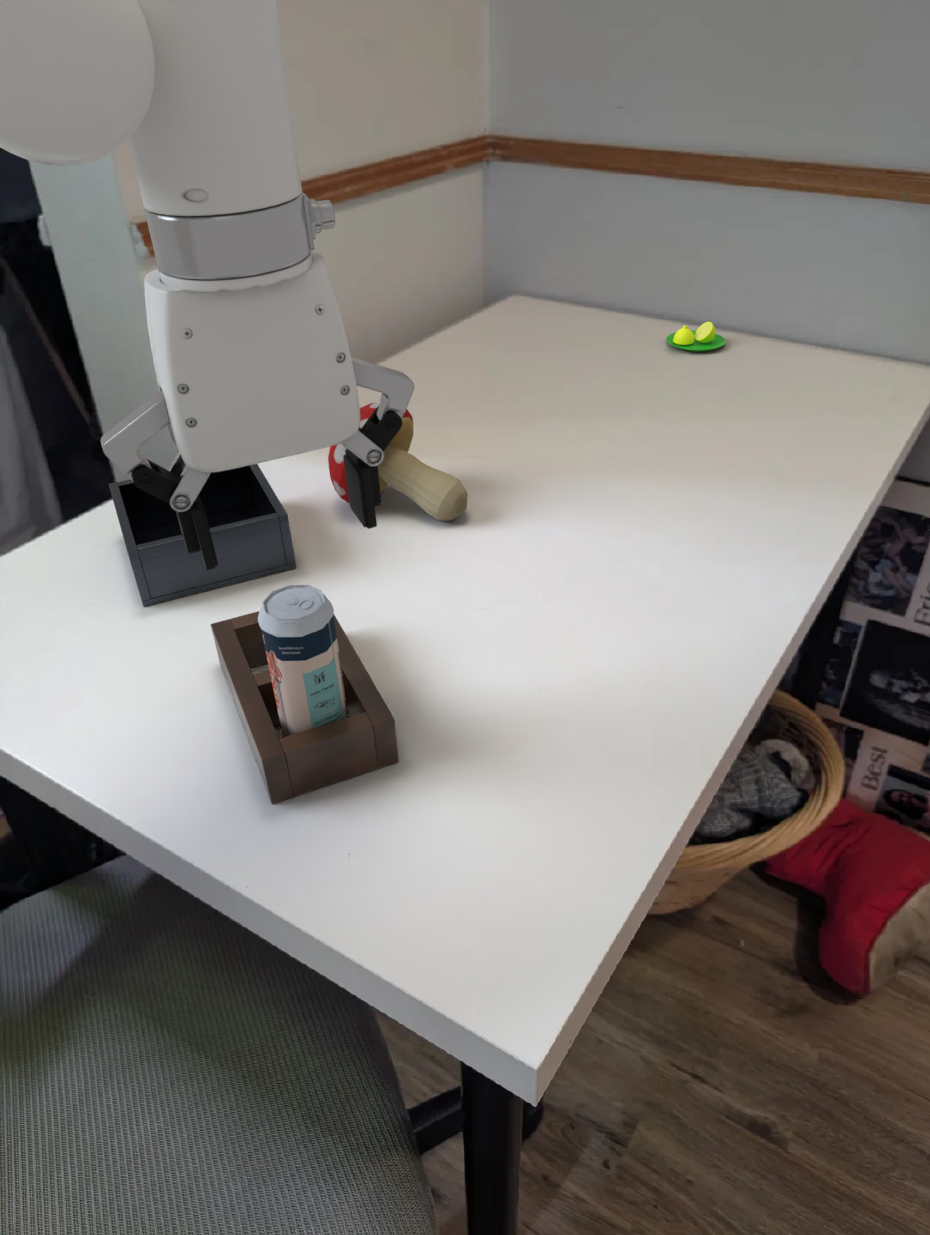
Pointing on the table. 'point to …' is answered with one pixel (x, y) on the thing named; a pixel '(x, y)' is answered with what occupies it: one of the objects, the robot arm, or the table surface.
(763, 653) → the table surface
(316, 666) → the beer can
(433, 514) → the decorative mushroom
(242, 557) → the dark grey open box
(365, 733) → the rack
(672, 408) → the table surface
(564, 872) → the table surface
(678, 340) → the lemon
